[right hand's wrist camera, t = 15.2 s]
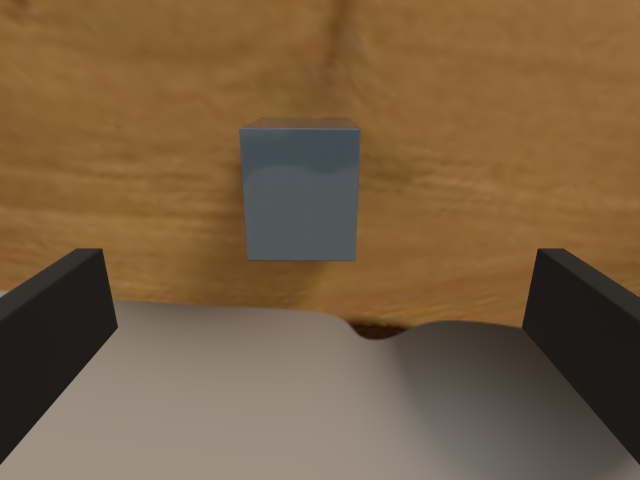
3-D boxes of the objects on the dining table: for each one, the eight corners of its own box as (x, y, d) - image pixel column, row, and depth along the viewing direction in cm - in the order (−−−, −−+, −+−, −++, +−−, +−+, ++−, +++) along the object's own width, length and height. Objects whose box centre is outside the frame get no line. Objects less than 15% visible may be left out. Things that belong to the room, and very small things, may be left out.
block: (347, 219, 29) (355, 261, 22) (265, 219, 29) (247, 260, 22) (350, 118, 27) (360, 129, 20) (261, 118, 27) (238, 128, 20)
